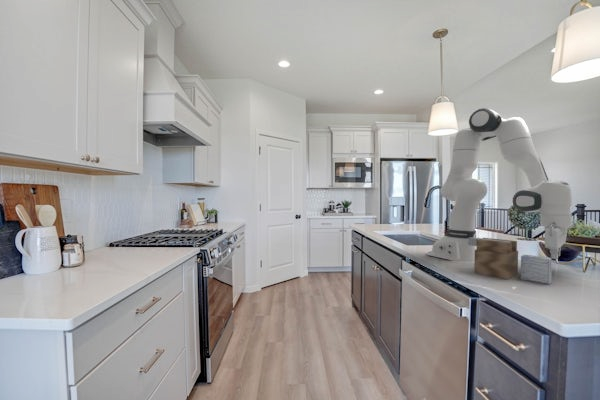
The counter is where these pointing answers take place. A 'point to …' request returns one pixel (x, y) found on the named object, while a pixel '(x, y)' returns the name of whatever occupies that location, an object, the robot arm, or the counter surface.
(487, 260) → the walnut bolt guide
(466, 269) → the counter surface
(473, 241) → the grey square bar
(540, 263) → the medicine box
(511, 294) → the counter surface
